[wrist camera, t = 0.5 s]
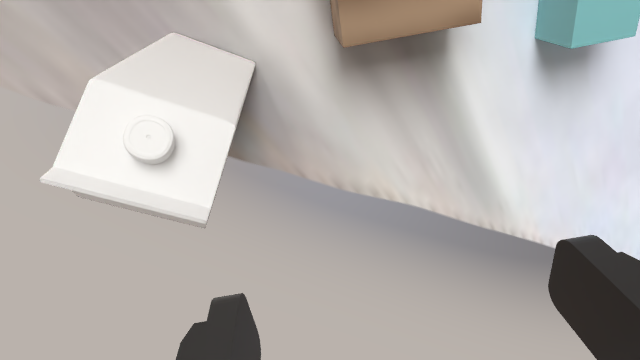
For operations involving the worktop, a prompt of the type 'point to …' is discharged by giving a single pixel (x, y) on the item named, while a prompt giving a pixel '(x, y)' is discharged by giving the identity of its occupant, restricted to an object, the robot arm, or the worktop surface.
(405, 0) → the walnut base block
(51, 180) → the milk carton
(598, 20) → the teal cube
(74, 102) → the worktop surface
